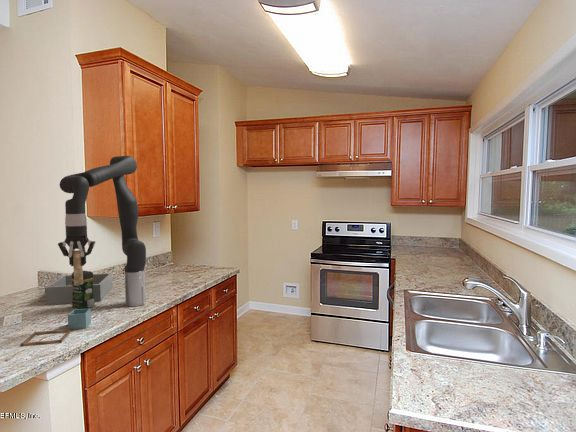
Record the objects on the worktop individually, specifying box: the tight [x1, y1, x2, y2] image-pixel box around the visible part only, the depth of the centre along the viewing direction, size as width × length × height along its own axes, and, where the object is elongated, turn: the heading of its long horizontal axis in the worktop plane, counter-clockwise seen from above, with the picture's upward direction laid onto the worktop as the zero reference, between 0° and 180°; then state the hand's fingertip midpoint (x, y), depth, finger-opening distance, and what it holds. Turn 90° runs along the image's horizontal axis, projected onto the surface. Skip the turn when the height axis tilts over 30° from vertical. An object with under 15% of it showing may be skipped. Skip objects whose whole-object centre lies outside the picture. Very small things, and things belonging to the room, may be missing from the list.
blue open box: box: [67, 307, 92, 331], centre depth 144 cm, size 7×7×7 cm
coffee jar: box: [71, 270, 95, 310], centre depth 169 cm, size 10×8×19 cm
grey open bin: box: [44, 273, 114, 306], centre depth 188 cm, size 25×25×9 cm
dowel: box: [72, 249, 84, 285], centre depth 142 cm, size 3×3×14 cm
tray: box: [20, 328, 73, 347], centre depth 132 cm, size 13×11×2 cm
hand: (77, 265), depth 142 cm, fingers closed on dowel, 3 cm apart
